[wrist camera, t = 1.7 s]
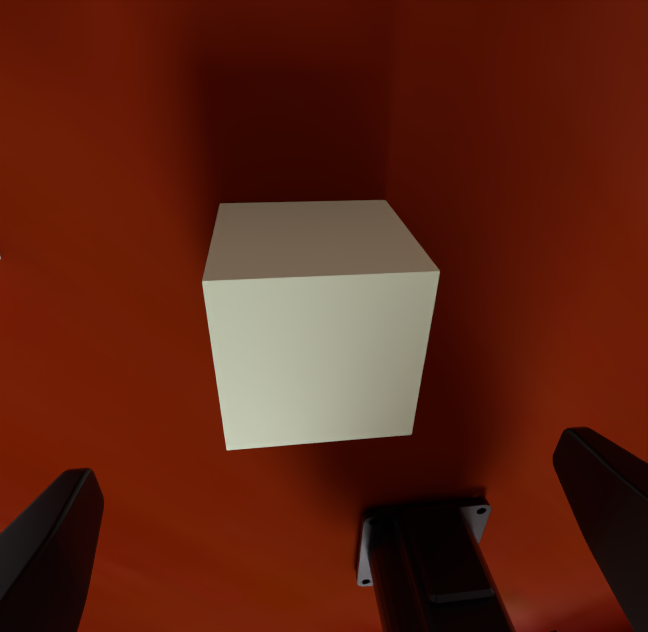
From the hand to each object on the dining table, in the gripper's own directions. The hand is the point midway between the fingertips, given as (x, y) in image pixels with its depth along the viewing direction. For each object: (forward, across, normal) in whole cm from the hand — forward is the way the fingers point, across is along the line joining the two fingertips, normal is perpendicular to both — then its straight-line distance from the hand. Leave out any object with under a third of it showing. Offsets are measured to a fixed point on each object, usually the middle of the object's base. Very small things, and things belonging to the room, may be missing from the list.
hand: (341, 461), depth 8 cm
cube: (+8, 0, 0) cm, 8 cm away
